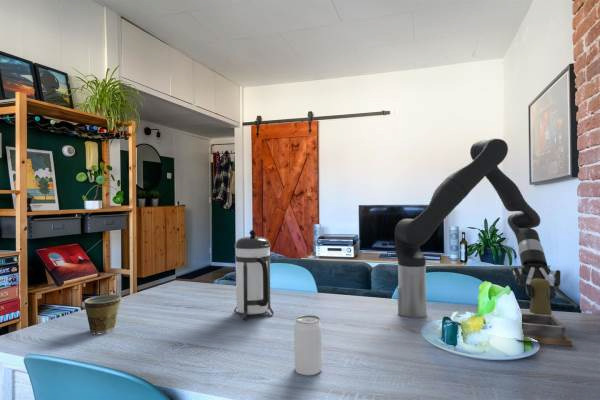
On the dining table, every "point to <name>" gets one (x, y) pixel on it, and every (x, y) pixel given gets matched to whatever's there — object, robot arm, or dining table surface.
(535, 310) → the cork
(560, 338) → the brown wooden tray
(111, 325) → the ceramic cup
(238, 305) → the coffee press
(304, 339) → the can
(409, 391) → the dining table surface
